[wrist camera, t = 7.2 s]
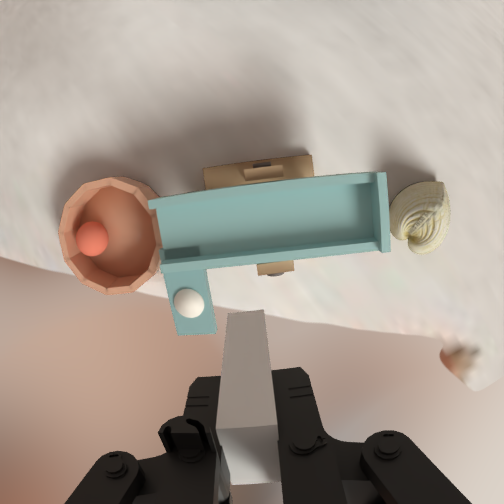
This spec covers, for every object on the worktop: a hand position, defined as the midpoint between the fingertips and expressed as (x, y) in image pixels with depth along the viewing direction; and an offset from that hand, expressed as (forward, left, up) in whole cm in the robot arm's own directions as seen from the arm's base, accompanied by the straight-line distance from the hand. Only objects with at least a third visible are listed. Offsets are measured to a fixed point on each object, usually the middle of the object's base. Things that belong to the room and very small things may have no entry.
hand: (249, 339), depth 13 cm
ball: (-3, -16, -22) cm, 27 cm away
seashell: (0, +22, -24) cm, 32 cm away
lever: (+1, +2, -16) cm, 17 cm away
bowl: (-3, -15, -24) cm, 28 cm away
